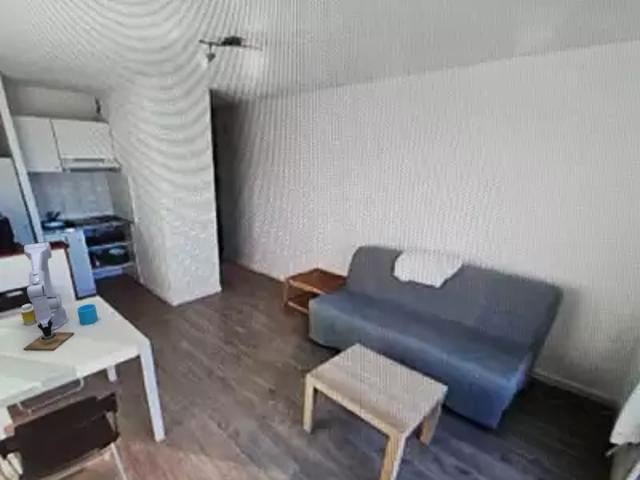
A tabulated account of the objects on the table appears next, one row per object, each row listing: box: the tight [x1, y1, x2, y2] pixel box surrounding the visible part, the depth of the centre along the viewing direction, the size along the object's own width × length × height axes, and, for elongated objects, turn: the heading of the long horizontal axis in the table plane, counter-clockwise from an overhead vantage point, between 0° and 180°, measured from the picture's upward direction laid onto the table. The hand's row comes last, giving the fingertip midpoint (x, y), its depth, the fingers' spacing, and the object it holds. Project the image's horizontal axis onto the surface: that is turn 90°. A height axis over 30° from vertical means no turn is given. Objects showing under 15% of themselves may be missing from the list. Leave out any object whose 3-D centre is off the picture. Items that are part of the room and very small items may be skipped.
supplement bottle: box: [20, 303, 38, 326], centre depth 185 cm, size 6×6×10 cm
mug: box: [76, 303, 99, 326], centre depth 189 cm, size 12×8×8 cm
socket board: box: [23, 331, 75, 352], centre depth 170 cm, size 14×14×1 cm
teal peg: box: [41, 327, 54, 340], centre depth 169 cm, size 4×4×7 cm
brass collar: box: [39, 333, 58, 344], centre depth 170 cm, size 7×7×2 cm
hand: (48, 333), depth 169 cm, fingers closed on teal peg, 4 cm apart
